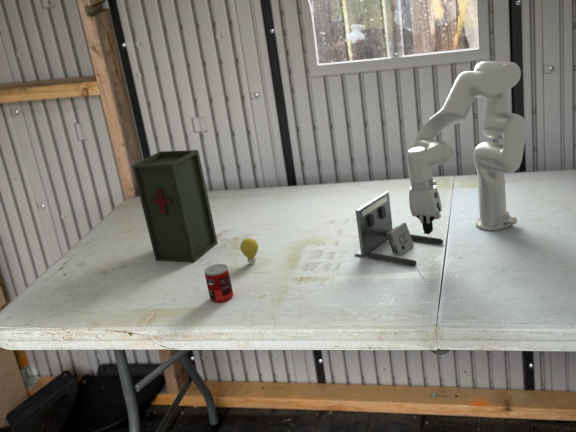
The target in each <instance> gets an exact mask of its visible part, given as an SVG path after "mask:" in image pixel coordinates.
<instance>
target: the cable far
mask: <svg viewBox="0 0 576 432" xmlns="http://www.w3.org/2000/svg"><path fill="white" fill-rule="evenodd" d="M410 235H411V238H412V241H417V242H422V243H430V244H435V245H436V244H437V245H442V244H443V243H444V240H443V239H442V238H438V237H432V236H424V235H418V234H413V233H410Z"/></svg>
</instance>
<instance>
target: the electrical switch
mask: <svg viewBox="0 0 576 432" xmlns="http://www.w3.org/2000/svg"><path fill="white" fill-rule="evenodd" d="M410 234H411V233H410V230H409V227H408V225H407V223H406V222H402V223H401V224H399V225H397V226H396V227H394V228H393V229H392V230H391V231H389V232H388V233H387V234H386V236H387V239H388V240H387V242H388V245H389V246H390V249H391V251H392V254H397V255H398V256H402V255H403V254H405V253H406V252H408V250H409V251H410V249H412V248H413V247H414V246H415V244H414V240H412V238H411V235H410Z"/></svg>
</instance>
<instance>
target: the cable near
mask: <svg viewBox="0 0 576 432" xmlns="http://www.w3.org/2000/svg"><path fill="white" fill-rule="evenodd" d="M365 257H366V258H368V259H374V260H379V261H385V262H389V263H390V262H391V263H394V264H400V265H405V266H412V267H415V266H417V260H415V259H410V258H409V259H408V258H405V257H398V256H392V255H387V254H383V253H382V254H380V253H376V252H368V253H367V254H366V256H365Z"/></svg>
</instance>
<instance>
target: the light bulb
mask: <svg viewBox="0 0 576 432" xmlns="http://www.w3.org/2000/svg"><path fill="white" fill-rule="evenodd" d="M239 247H240V252H241V253H242V254H243V255H244V256H245V257H246V258H247V261H246V262H247V263H249V266H254V265H255V264H256V261H257V257H256V255H257V253H258V249H259V244H258V242H257V240H255V239H254V238H251V237H250V238H245V239H243V241H242V242H241V243H240V245H239Z"/></svg>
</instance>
